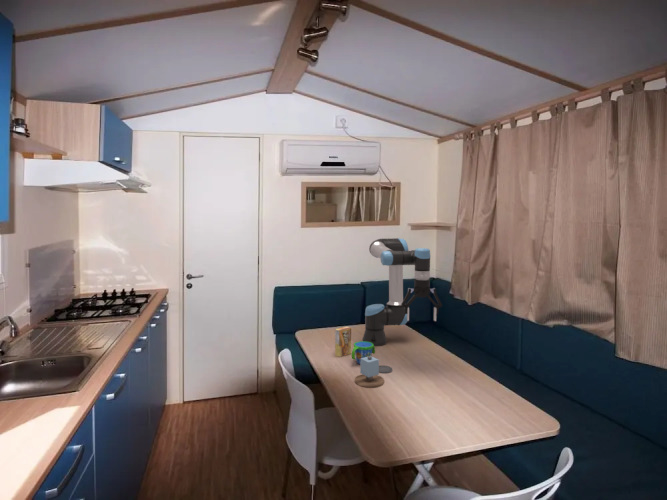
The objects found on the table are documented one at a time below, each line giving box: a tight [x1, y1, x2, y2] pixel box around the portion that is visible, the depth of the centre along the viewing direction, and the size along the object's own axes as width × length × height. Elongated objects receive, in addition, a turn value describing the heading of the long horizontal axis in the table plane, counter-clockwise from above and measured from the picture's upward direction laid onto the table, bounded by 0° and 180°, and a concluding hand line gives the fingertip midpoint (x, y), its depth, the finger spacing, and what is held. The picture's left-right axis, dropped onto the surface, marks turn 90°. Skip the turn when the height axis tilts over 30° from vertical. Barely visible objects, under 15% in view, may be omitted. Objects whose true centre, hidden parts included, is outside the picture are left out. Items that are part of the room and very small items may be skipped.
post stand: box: [354, 374, 385, 389], centre depth 190 cm, size 14×14×10 cm
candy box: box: [334, 326, 352, 358], centre depth 226 cm, size 9×4×15 cm, turn 129°
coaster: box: [379, 364, 393, 374], centre depth 204 cm, size 9×9×1 cm
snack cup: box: [351, 340, 376, 365], centre depth 214 cm, size 16×10×10 cm
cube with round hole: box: [359, 355, 380, 377], centre depth 189 cm, size 6×6×8 cm
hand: (421, 320), depth 203 cm, fingers open, 13 cm apart
